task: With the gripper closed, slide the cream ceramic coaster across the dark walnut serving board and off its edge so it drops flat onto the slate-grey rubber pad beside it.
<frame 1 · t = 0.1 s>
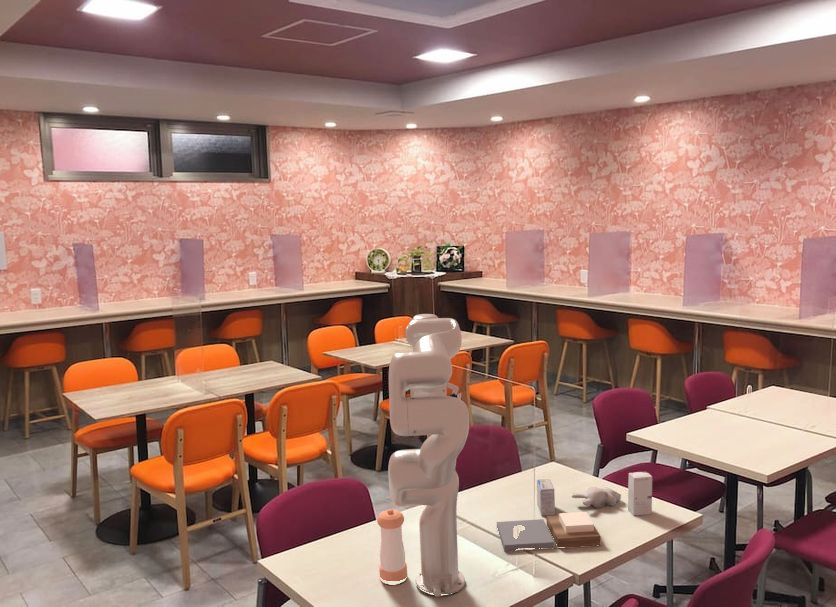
hand: (429, 417, 202), 37 cm above the table, tool pointing down, fingers open, 9 cm apart
serving board: (572, 535, 206), on the table
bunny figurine: (597, 505, 226), on the table
pepper shaker: (393, 578, 188), on the table
coaster: (576, 525, 206), point 3 cm above the table, touching serving board
mat: (524, 538, 206), on the table
skincare box: (639, 512, 219), on the table
medicine box: (545, 510, 223), on the table
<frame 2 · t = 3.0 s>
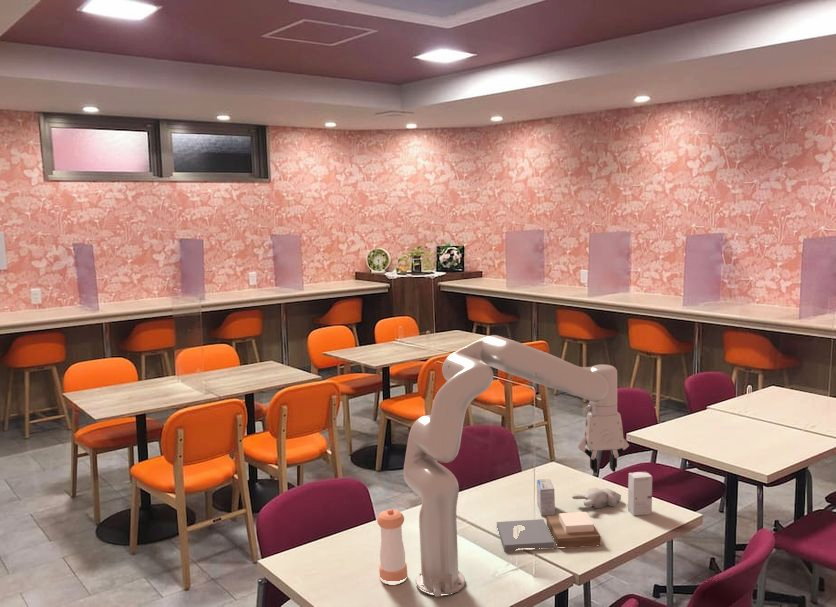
hand: (603, 469, 204), 19 cm above the table, tool pointing down, fingers open, 4 cm apart
nothing on the table moved.
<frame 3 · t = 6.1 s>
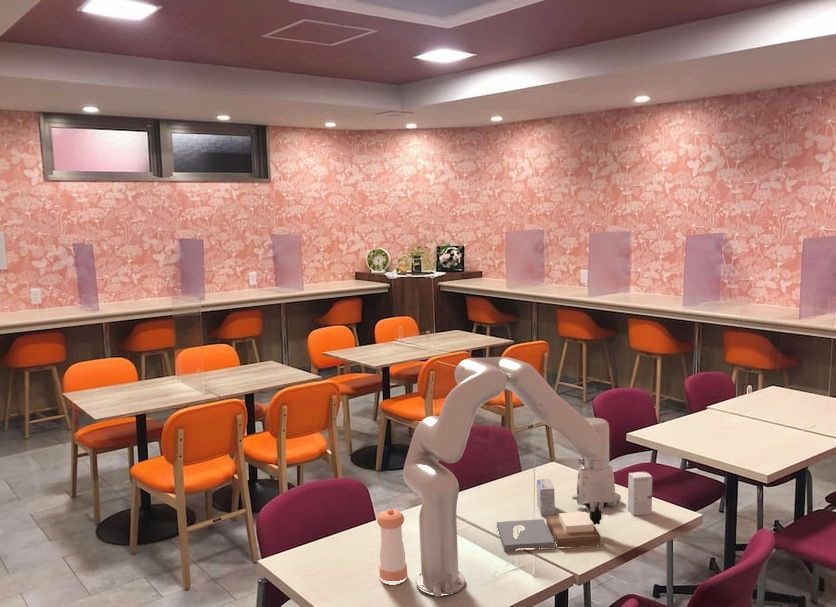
hand: (595, 522, 206), 4 cm above the table, tool pointing down, fingers closed
coaster: (576, 525, 206), point 3 cm above the table, touching gripper, serving board
everything else where it was.
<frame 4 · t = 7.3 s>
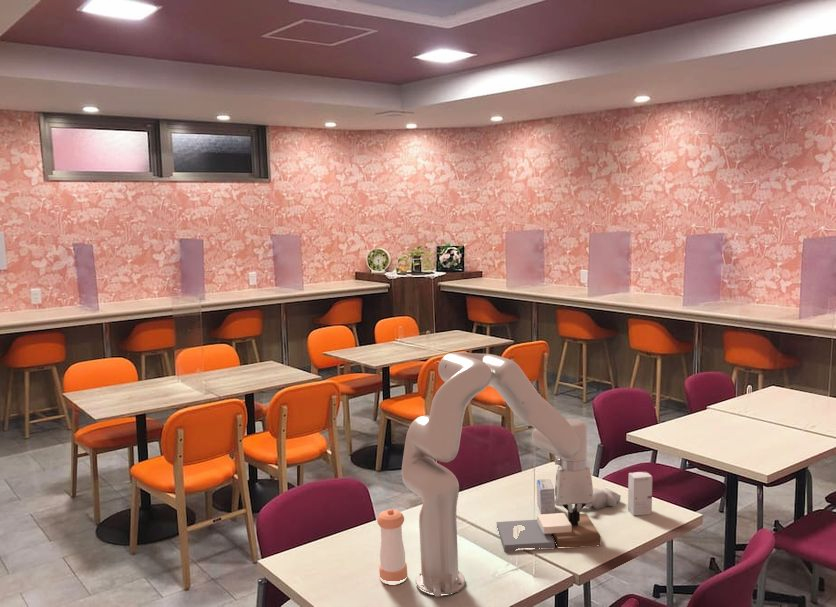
hand: (573, 523, 206), 4 cm above the table, tool pointing down, fingers closed
coaster: (554, 526, 206), point 3 cm above the table
everything else where it was.
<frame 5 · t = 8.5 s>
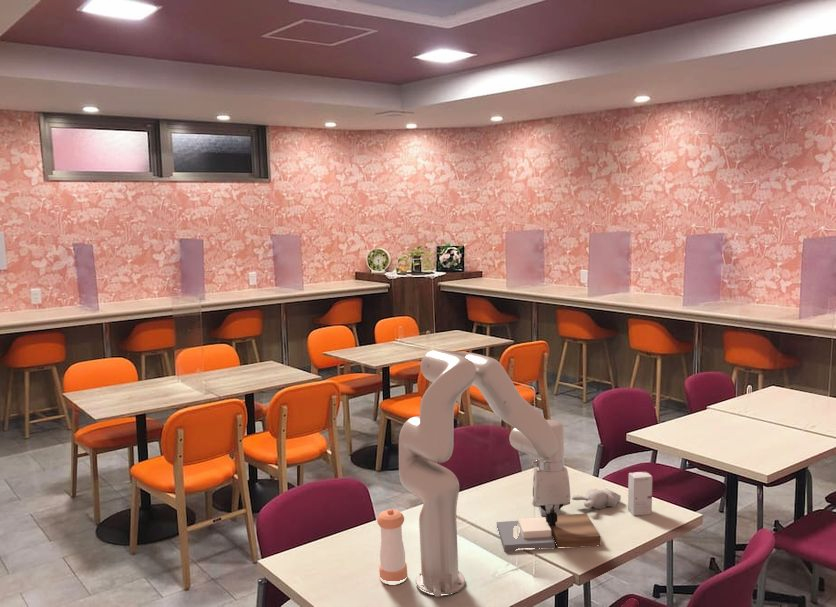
hand: (551, 524, 206), 4 cm above the table, tool pointing down, fingers closed
coaster: (534, 530, 206), point 2 cm above the table, touching gripper, mat
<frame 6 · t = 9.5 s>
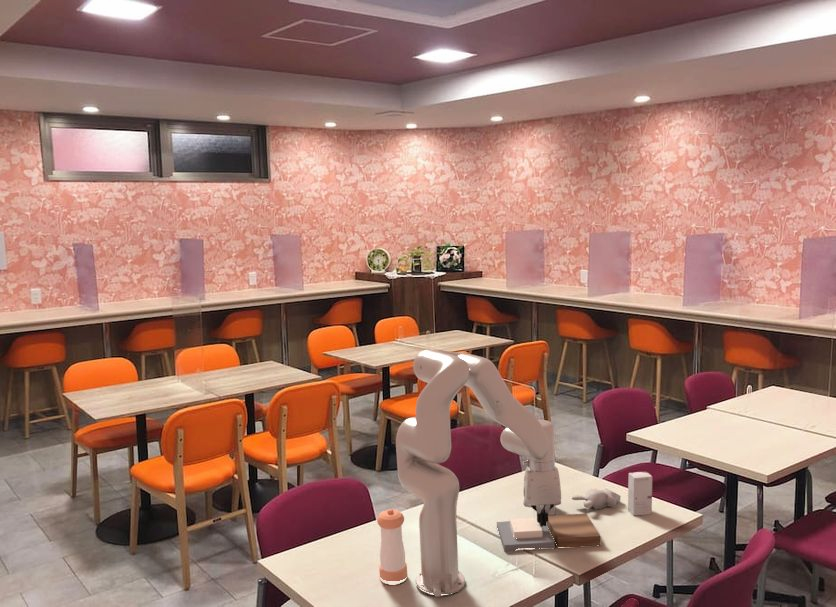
hand: (542, 524, 205), 4 cm above the table, tool pointing down, fingers closed
coaster: (525, 531, 206), point 2 cm above the table, touching gripper, mat
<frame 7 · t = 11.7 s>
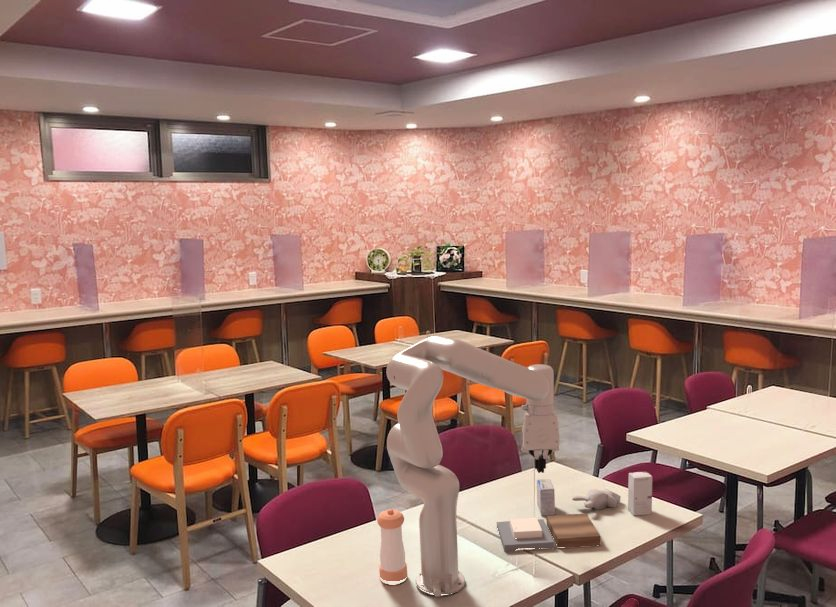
hand: (540, 470, 203), 20 cm above the table, tool pointing down, fingers closed
coaster: (525, 531, 206), point 2 cm above the table, touching mat
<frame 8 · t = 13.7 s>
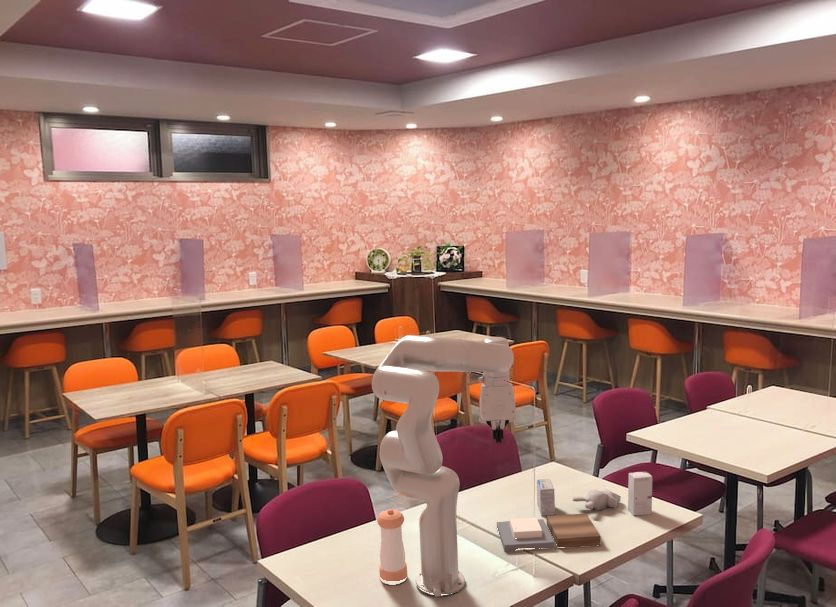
hand: (497, 441, 208), 27 cm above the table, tool pointing down, fingers closed
at the end: coaster inside the target area (0.5 cm from its centre), point 2.0 cm above the table; coaster tilted 0°; coaster touching mat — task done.
